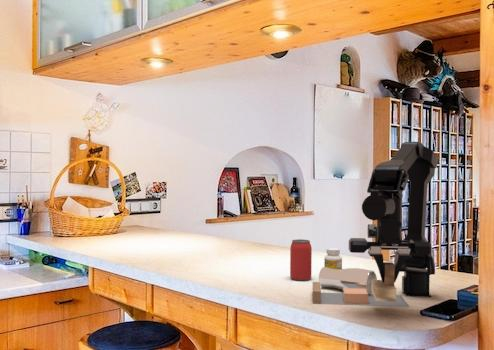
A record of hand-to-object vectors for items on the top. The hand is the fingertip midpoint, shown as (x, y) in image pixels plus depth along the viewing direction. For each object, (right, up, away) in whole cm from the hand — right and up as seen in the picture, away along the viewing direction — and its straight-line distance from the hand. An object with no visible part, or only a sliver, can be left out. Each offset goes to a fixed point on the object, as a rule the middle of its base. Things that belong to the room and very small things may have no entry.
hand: (388, 281), depth 127 cm
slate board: (-5, -7, +12) cm, 15 cm away
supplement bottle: (-7, -7, +37) cm, 39 cm away
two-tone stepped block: (-1, -4, 0) cm, 4 cm away
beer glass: (-12, -4, +27) cm, 29 cm away
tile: (-6, -7, +11) cm, 14 cm away
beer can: (-17, -7, +38) cm, 43 cm away
